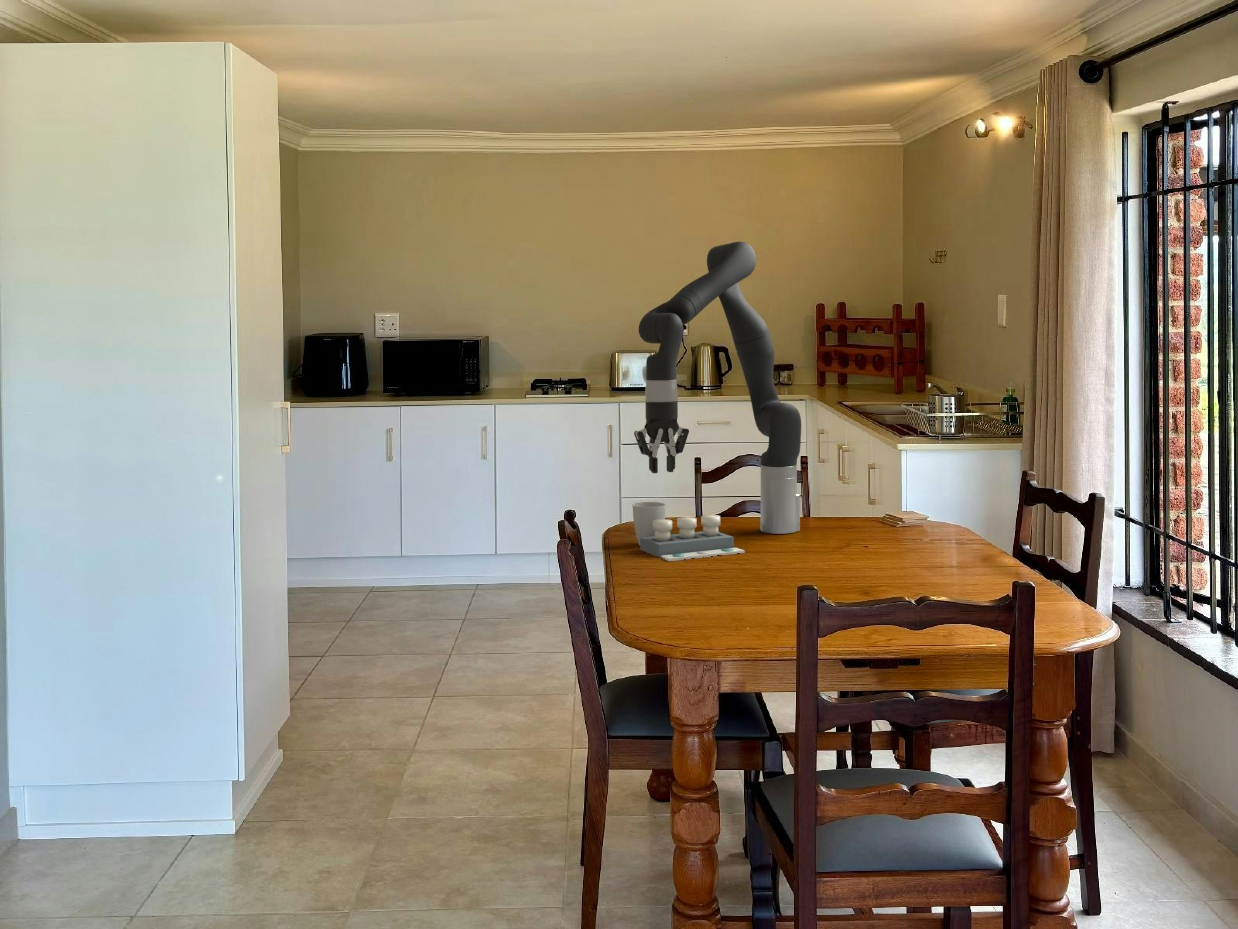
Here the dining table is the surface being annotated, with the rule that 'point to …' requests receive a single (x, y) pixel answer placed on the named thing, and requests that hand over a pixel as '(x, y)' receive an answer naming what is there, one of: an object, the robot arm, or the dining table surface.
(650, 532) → the cup
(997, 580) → the dining table surface
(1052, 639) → the dining table surface
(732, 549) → the strip
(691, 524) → the button
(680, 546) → the board
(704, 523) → the button
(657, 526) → the button
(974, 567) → the dining table surface
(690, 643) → the dining table surface
